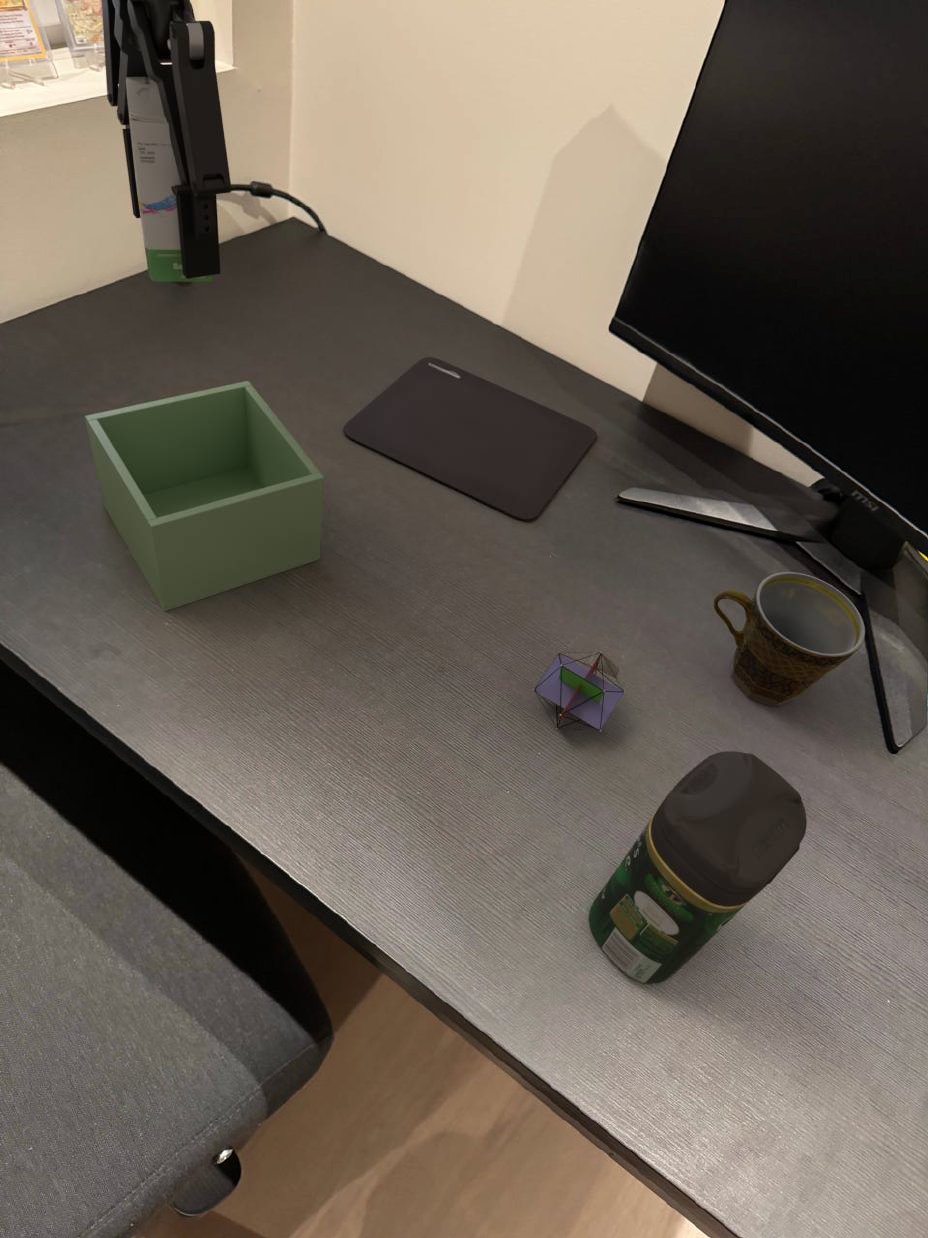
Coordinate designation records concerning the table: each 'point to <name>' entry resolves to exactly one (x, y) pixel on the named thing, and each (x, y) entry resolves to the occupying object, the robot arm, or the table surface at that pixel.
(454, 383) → the mouse pad
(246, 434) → the open square box
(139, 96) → the ink box
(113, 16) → the robot arm
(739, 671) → the ceramic cup
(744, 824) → the coffee jar
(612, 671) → the geometric puzzle
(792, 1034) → the table surface
